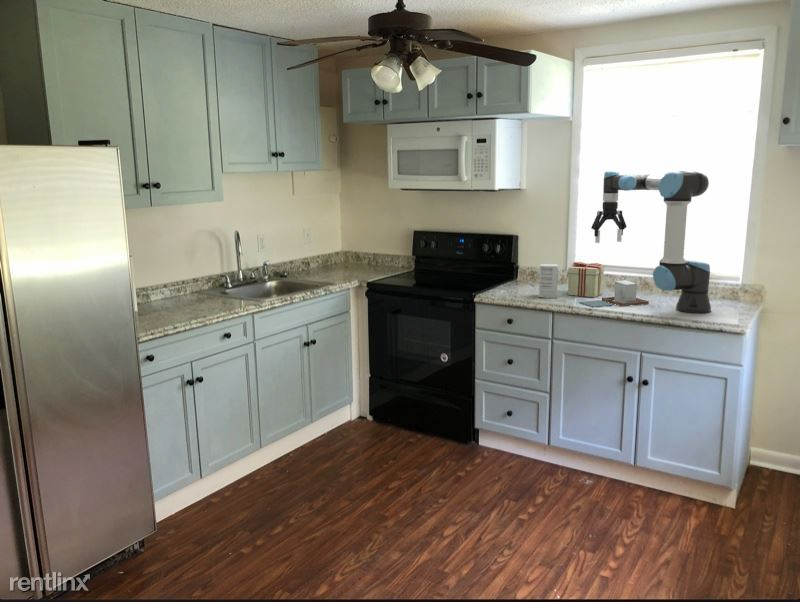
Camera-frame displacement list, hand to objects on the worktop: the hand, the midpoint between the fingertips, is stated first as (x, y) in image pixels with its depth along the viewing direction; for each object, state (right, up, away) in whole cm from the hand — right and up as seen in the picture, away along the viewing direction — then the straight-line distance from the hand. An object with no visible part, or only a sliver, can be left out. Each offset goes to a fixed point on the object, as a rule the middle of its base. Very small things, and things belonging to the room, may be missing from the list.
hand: (608, 242), depth 353 cm
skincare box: (+3, -32, -16) cm, 36 cm away
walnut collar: (+3, -32, -17) cm, 36 cm away
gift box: (-11, -27, +7) cm, 30 cm away
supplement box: (-32, -29, +1) cm, 43 cm away
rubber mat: (-12, -33, -21) cm, 41 cm away
